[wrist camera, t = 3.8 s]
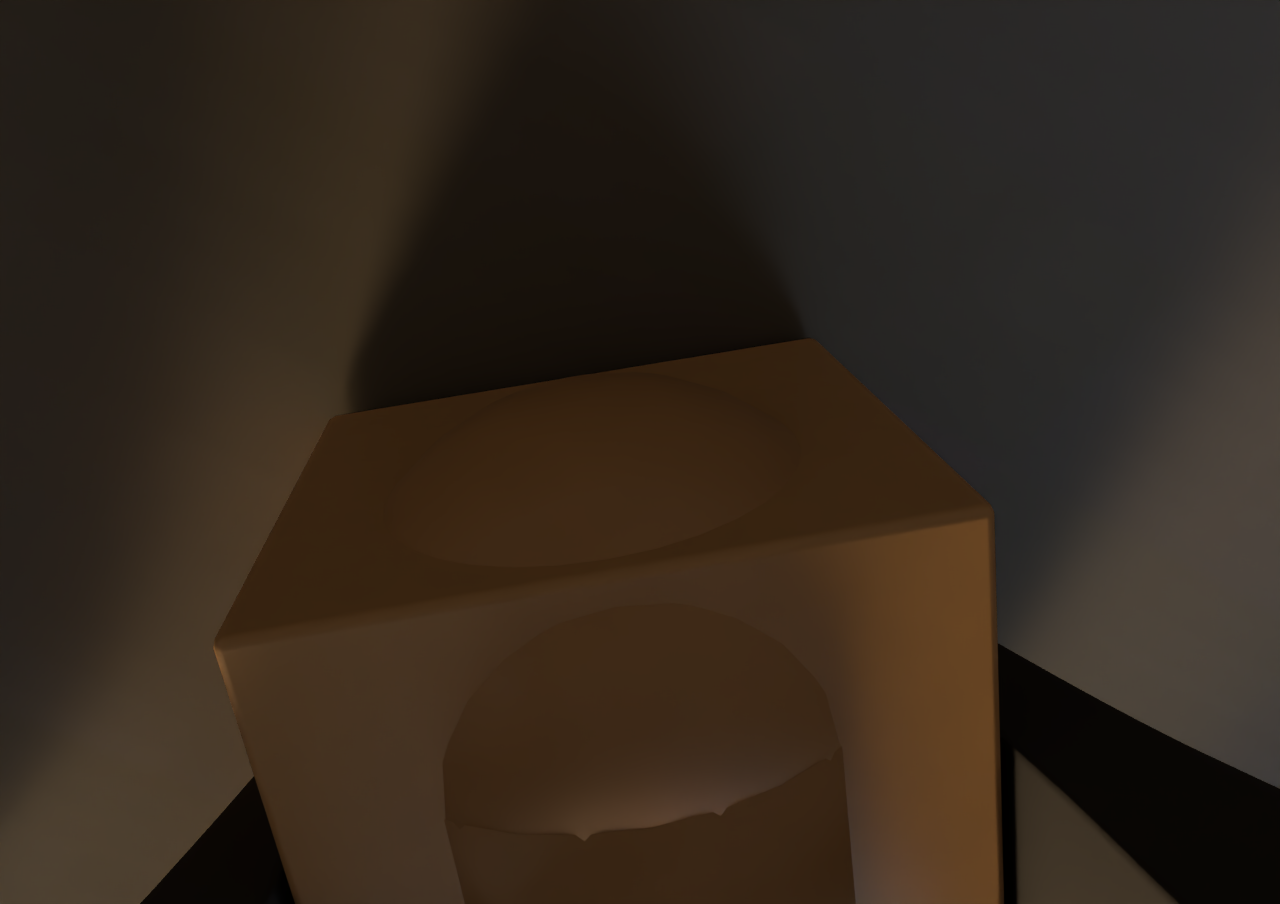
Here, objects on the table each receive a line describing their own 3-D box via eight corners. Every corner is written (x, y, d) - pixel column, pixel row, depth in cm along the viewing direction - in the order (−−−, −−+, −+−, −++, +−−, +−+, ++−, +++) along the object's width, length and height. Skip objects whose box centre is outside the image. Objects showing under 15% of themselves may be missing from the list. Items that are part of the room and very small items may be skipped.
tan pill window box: (865, 932, 12) (1040, 1375, 8) (478, 1007, 12) (458, 1500, 8) (809, 269, 10) (1029, 428, 5) (311, 349, 9) (149, 578, 5)
